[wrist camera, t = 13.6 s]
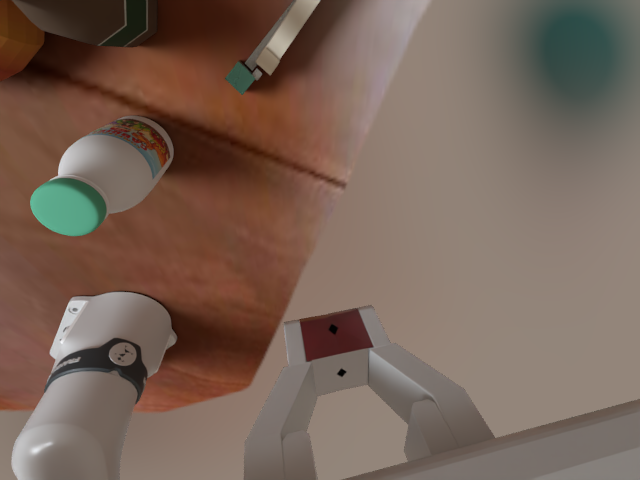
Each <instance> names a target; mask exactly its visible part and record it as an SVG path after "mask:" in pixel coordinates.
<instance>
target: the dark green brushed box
mask: <svg viewBox="0 0 640 480" xmlns="http://www.w3.org/2000/svg"><path fill="white" fill-rule="evenodd" d="M261 75H262V73H261V72H260V71H259V70H258V69H257V68H256V70H255V71H254V72H253V73H252V72H251V71H250V70H249V69H248V68H247V67H246V66H245V65H244V64H243V63H242V62H241V61H240V60H239V61H238V62H237V64H236V65H235V66H234V68H233V69H232V70H231V71H230V73H229V74H228V75H227V77H226V78H225V79H226V80H227V81H228V82H229V83H230V84H231V85H232V86H233V87H234V88H235V89H236V90H237V91H238V92H240V93H241V94H242V95H243V94H244V92H245V91H246V90H247V89H248V87H249V86H250V85H251V84H252V82H253V81H254V80H256V81H257V80H258V79H259V78H260V77H261Z"/></svg>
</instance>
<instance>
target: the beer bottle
mask: <svg viewBox="0 0 640 480" xmlns="http://www.w3.org/2000/svg"><path fill="white" fill-rule="evenodd" d="M12 1H13V2H14V3H15V4H16V6H17V7H18V8H19V9H20V10H21V11H22V12H23V13H24V14H25V15H26V16H27V17H28V19H29V20H30V21H31V22H32V23H34V24H35V25H36V26H37V27H38V28H40V29H41V30H42V31H46V32H49V33H53V34H56V35H60V36H63V37H67V38H70V39H74V40H77V41H81V42H84V43H88V44H92V45H97V46H116V47H137V46H138V45H140V44H141V43H142V42H144V41H145V40H147V39H148V38H149V37H151V36H152V35H153V34H155V33H156V32H157V13H158V0H12Z"/></svg>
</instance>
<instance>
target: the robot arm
mask: <svg viewBox="0 0 640 480" xmlns="http://www.w3.org/2000/svg"><path fill="white" fill-rule="evenodd" d="M299 321H300V322H299ZM284 333H285V342H286V351H287V359H288V366H287V367H284V368H283V370H282V372H281V374H280V375H279V377H278V379H277V381H276V383H275V385H274V387H273V389H272V391H271V393H270V395H269V397H268V398H267V400H266V402H265V404H264V406H263V408H262V410H261V412H260V414H259V416H258V418H257V420H256V422H255V424H254V425H253V428H252V429H251V431H250V433H249V435H248V437H247V439H246V441H245V453H244V454H245V455H244V480H318V478H317V472H316V467H315V462H314V457H313V451H312V446H311V441H310V436H309V433H307V432H306V431H307V428H308V425H309V422H310V419H311V416H312V413H313V410H314V407H315V404H316V401H317V396H320V395H324V394H328V393H331V392H336V391H339V390H343V389H348V388H353V387H358V386H363V385H369V387H370V388H371V389H372V390H373V391H374V392H375V393H376V394H378V396H380V398H382V400H383V401H385V402H386V403H387V404H388V405H389V406H390V407H391V408H392V409H393V410H394V411H395V412H396V413H397V414H398V415H399V416H400V417H401V418H402V419H403V420H404V421H405V422H406V423H407V424H408V431H407V436H406V441H405V446H404V452H405V454H406V457H407V460H408V462H405V463H402V464H398V465H394V466H390V467H387V468H383V469H380V470H376V471H372V472H368V473H365V474H361V475H358V476H354V477H350V478H346V479H343V480H640V399H638V400H634V401H631V402H627V403H623V404H619V405H616V406H612V407H608V408H605V409H601V410H597V411H594V412H590V413H587V414H583V415H579V416H575V417H571V418H568V419H564V420H560V421H557V422H553V423H549V424H546V425H542V426H538V427H535V428H531V429H527V430H523V431H520V432H516V433H512V434H509V435H505V436H501V437H498V438H495V437H494V435H493V433H492V432H491V430H490V429H489V427H488V426H487V424H486V422H485V421H484V419H483V418H482V416H481V415H480V413H479V411H478V410H477V408H476V407H475V405H474V404H473V402H472V400H471V399H470V397H469V395H468V394H467V392H466V391H465V389H464V388H462V387H461V386H459V385H458V384H456V383H454V382H453V381H452V380H450V379H449V378H447V377H446V376H444V375H443V374H441V373H440V372H438V371H437V370H435V369H433V368H432V367H431V366H429V365H428V364H426V363H425V362H423V361H422V360H420V359H419V358H417V357H416V356H414V355H413V354H411V353H410V352H408V351H406V350H405V349H404V348H402V347H401V346H399V345H398V344H396V343H392V344H391V342H390V340H389V338H388V337H387V334H386V332H385V330H384V328H383V326H382V324H381V322H380V320H379V318H378V316H377V314H376V312H375V309H374V307H373V306H372V305H368V306H364V307H359V308H353V309H349V310H344V311H339V312H334V313H330V314H327V315H321V316H315V317H309V318H304V319H300V320H294V321H288V322H284ZM176 340H177V335H176V334H175V332H174V331H173V330H172V327H171V318H170V315H169V313H168V312H167V310H166V309H165V308H164V307H163V306H162V305H161V304H159V303H158V302H156V301H155V300H153V299H151V298H149V297H146V296H144V295H140V294H136V293H130V292H111V293H106V294H102V295H98V296H93V297H92V296H77V297H73V298H71V300H70V301H69V303H68V306H67V308H66V311H65V314H64V316H63V319H62V321H61V324H60V327H59V329H58V332H57V334H56V337H55V340H54V342H53V345H52V347H51V350H50V355H51V356H52V357H53V358H54V359H56V361H55V364H54V366H53V369H52V372H51V375H50V376H49V378H48V381H47V384H46V386H45V389H44V393H45V394H44V395H43V397H42V398H41V400H40V402H39V403H38V405H37V407H36V408H35V410H34V412H33V413H32V415H31V417H30V418H29V420H28V422H27V423H26V425H25V427H24V428H23V430H22V431H21V433H20V435H19V436H18V438H17V440H16V442H15V444H14V448H13V452H12V468H13V471H14V473H15V475H16V477H17V478H18V480H119V478H120V477H119V475H120V473H119V472H120V459H121V453H122V448H123V444H124V440H125V436H126V433H127V429H128V426H129V422H130V419H131V416H132V412H133V409H134V406H135V404H136V403H137V402H138V401H139V399H140V397H141V395H142V393H143V391H144V388H145V385H146V380H147V378H148V377H150V376H152V375H153V374H154V373H156V372H157V371H158V369H159V367H160V364H161V361H162V359H163V356H164V353H165V351H166V349H168V348H169V347H171V346H172V345H174V344H175V343H176Z"/></svg>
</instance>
